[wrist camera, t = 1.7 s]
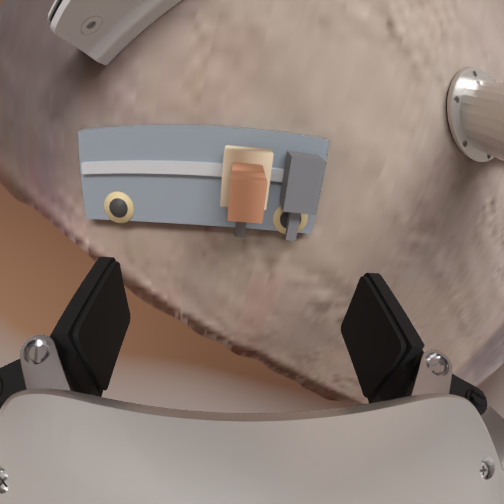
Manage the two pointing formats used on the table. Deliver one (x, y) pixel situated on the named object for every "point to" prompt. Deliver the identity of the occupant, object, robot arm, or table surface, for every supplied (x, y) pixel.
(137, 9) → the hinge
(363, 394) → the robot arm
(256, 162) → the block
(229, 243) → the table surface
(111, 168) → the gauge board
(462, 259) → the table surface
